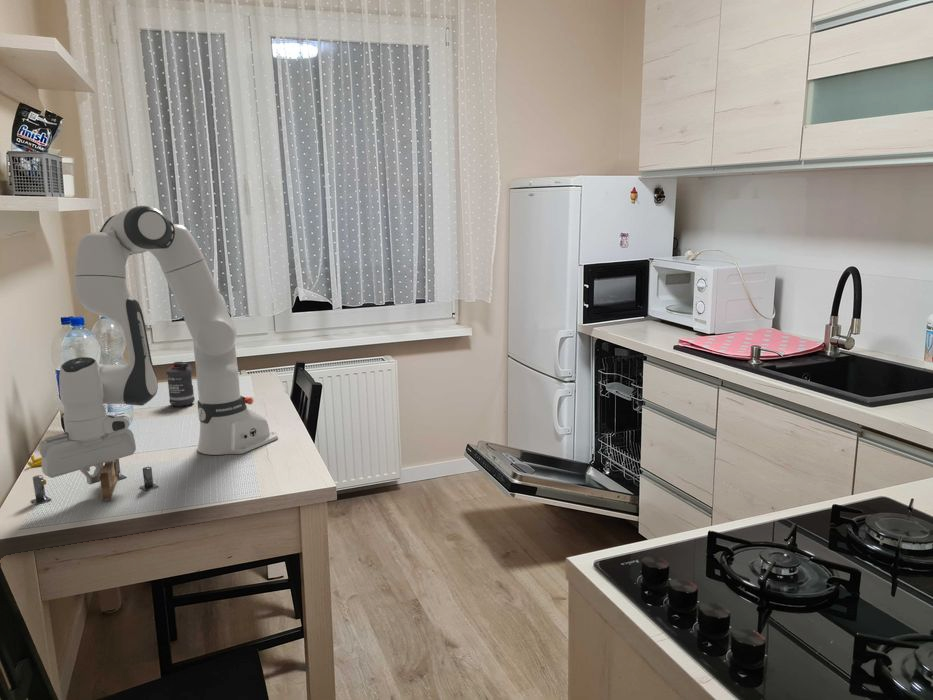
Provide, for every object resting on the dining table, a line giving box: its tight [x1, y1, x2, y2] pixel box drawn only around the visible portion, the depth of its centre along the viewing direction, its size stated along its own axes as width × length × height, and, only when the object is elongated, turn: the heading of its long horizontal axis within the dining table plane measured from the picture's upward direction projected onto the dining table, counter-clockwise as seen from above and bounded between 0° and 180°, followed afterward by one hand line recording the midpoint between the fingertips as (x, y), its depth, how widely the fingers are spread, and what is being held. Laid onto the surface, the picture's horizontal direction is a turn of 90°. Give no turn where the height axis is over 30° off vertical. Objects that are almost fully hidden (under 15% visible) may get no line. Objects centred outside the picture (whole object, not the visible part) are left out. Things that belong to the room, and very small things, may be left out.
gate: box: [99, 460, 119, 501], centre depth 167 cm, size 14×2×6 cm, turn 19°
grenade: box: [166, 361, 195, 408], centre depth 239 cm, size 8×8×15 cm
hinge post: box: [116, 458, 127, 481], centre depth 175 cm, size 4×4×9 cm
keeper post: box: [139, 466, 160, 492], centre depth 170 cm, size 3×3×5 cm
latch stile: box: [30, 474, 52, 506], centre depth 162 cm, size 3×3×6 cm
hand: (93, 482), depth 166 cm, fingers closed
